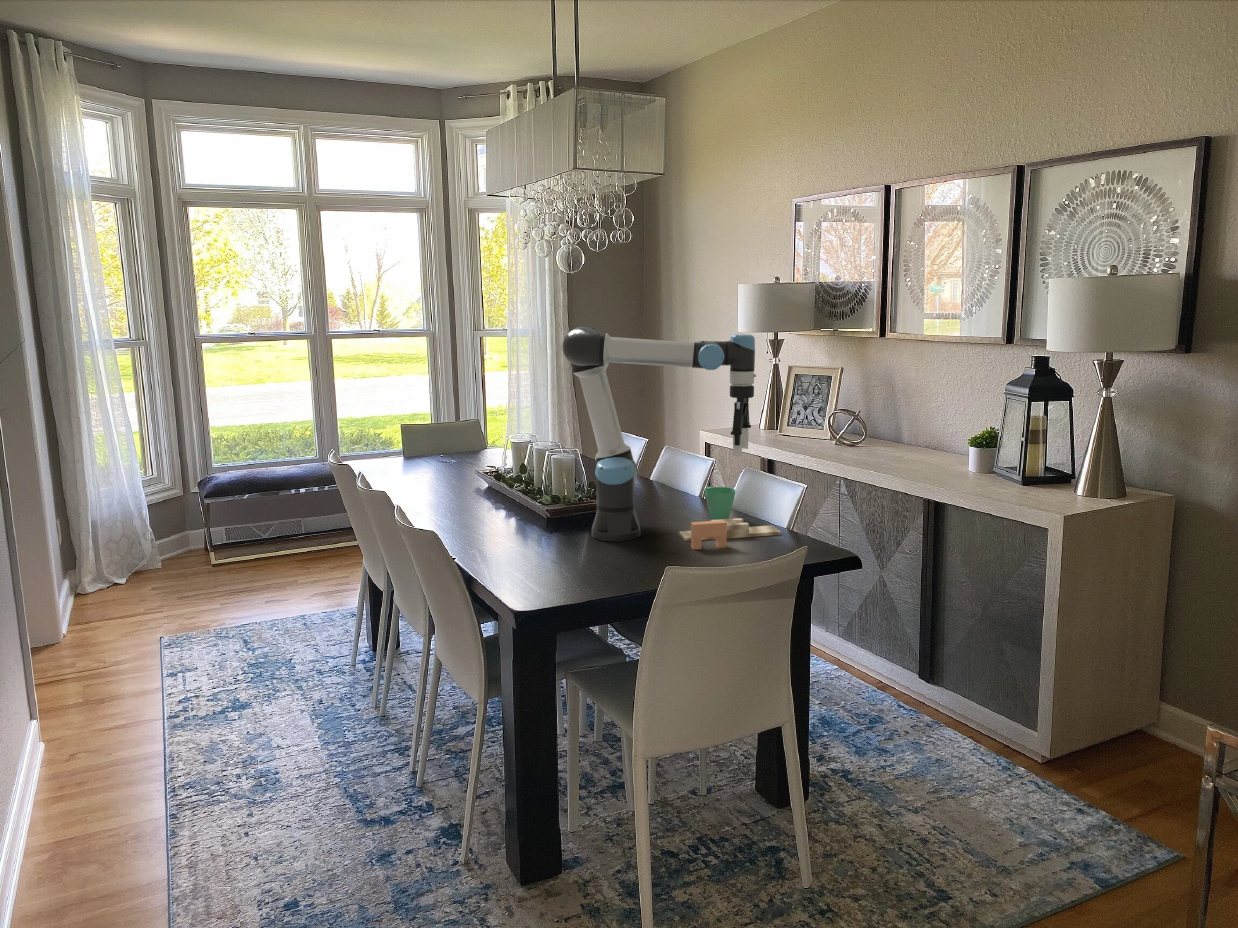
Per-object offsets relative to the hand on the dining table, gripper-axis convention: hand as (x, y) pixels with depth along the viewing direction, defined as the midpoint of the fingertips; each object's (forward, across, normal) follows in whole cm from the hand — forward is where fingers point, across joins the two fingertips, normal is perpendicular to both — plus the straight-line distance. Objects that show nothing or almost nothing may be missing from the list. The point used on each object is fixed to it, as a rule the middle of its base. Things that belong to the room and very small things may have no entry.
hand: (740, 452), depth 291 cm
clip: (+24, -28, +5) cm, 37 cm away
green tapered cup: (+24, +7, +8) cm, 26 cm away
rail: (+24, -13, +1) cm, 27 cm away
